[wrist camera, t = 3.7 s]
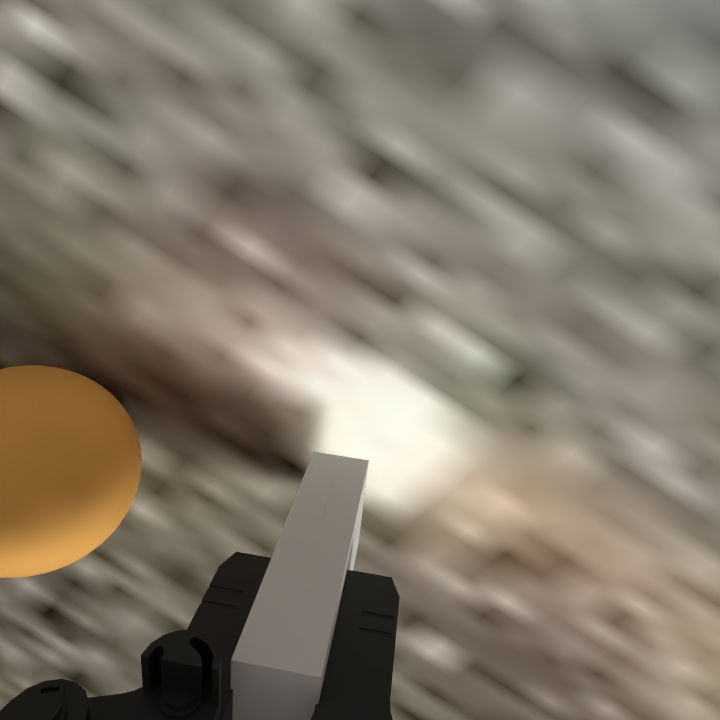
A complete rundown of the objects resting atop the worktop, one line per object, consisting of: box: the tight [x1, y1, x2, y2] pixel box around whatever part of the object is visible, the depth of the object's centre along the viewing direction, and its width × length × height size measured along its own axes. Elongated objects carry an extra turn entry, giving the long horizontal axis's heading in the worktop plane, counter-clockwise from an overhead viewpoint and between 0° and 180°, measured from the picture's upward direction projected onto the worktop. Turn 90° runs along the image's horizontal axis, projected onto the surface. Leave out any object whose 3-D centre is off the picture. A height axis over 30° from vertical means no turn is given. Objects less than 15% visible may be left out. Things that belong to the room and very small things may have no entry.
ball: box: [0, 365, 142, 578], centre depth 15 cm, size 6×6×6 cm
